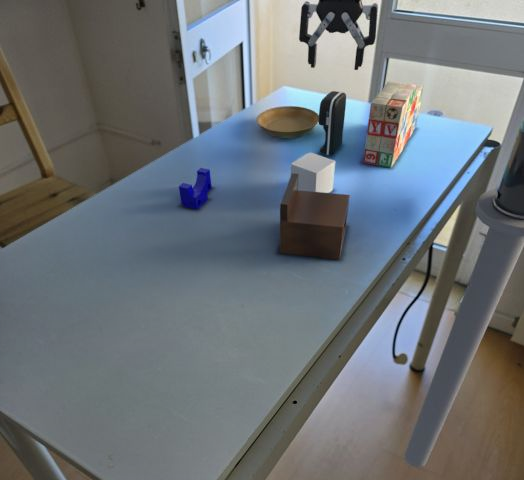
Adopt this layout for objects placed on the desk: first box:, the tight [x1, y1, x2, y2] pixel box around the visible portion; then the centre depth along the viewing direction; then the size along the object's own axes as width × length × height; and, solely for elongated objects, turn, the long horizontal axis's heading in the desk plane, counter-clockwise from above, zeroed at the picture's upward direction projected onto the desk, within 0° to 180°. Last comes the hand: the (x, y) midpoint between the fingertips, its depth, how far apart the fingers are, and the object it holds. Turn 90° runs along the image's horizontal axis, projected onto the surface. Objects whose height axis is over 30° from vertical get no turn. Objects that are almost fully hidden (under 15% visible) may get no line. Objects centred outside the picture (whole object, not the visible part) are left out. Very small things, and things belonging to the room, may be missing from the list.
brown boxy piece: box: [279, 173, 350, 260], centre depth 79 cm, size 10×10×9 cm
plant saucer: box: [256, 105, 319, 139], centre depth 112 cm, size 15×15×3 cm
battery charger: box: [318, 90, 347, 156], centre depth 101 cm, size 7×4×11 cm, turn 152°
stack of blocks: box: [362, 81, 424, 169], centre depth 101 cm, size 21×6×12 cm, turn 154°
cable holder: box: [178, 167, 213, 211], centre depth 91 cm, size 8×4×4 cm, turn 154°
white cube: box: [289, 151, 336, 193], centre depth 91 cm, size 6×6×6 cm
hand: (334, 67), depth 93 cm, fingers open, 8 cm apart
